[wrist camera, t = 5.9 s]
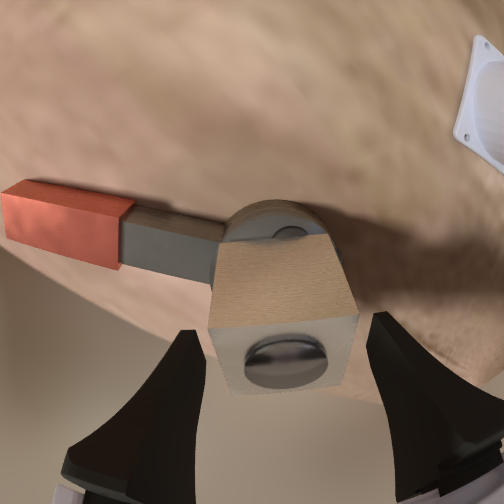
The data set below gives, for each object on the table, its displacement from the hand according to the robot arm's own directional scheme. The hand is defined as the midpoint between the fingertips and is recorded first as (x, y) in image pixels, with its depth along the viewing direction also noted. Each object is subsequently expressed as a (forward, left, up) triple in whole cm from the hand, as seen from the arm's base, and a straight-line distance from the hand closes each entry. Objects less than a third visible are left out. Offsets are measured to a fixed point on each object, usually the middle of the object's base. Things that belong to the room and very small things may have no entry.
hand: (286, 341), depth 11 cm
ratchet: (+7, 0, -7) cm, 10 cm away
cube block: (0, 0, -4) cm, 4 cm away
